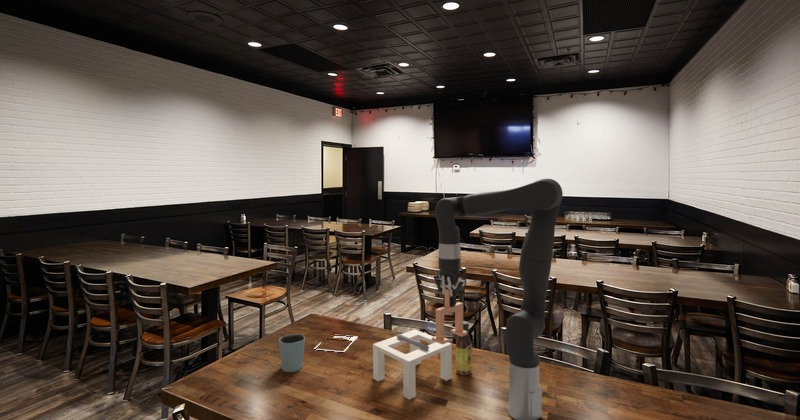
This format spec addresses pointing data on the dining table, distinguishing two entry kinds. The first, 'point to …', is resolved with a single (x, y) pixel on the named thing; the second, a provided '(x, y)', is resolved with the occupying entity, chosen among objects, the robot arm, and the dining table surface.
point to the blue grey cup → (292, 352)
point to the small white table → (411, 357)
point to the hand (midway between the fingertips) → (449, 305)
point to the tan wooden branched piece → (440, 320)
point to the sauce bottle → (464, 352)
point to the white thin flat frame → (343, 338)
